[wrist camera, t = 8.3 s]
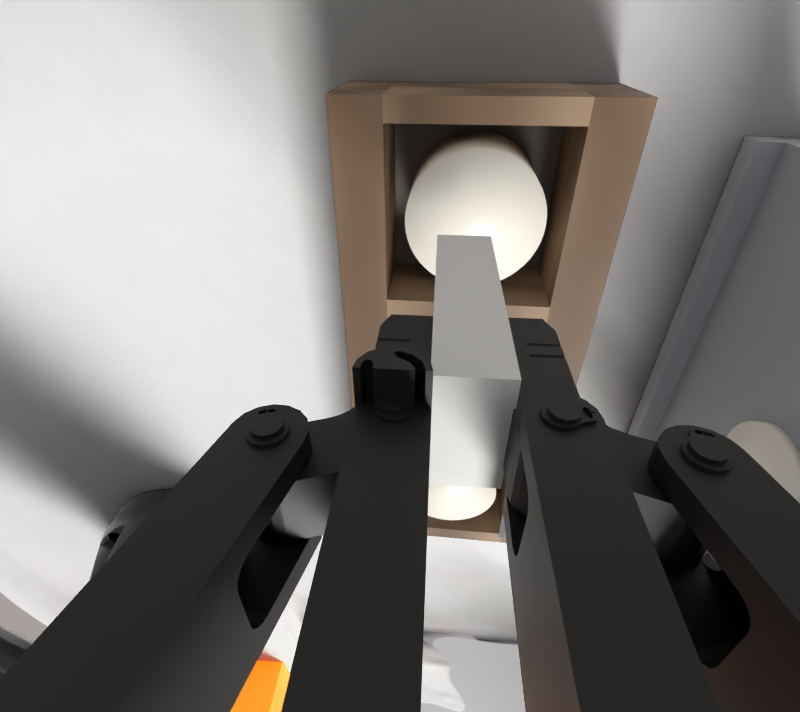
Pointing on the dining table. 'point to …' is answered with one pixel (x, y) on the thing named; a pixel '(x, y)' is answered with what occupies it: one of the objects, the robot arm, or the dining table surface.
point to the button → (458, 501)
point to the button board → (557, 174)
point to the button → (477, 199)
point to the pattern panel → (740, 320)
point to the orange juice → (263, 688)
